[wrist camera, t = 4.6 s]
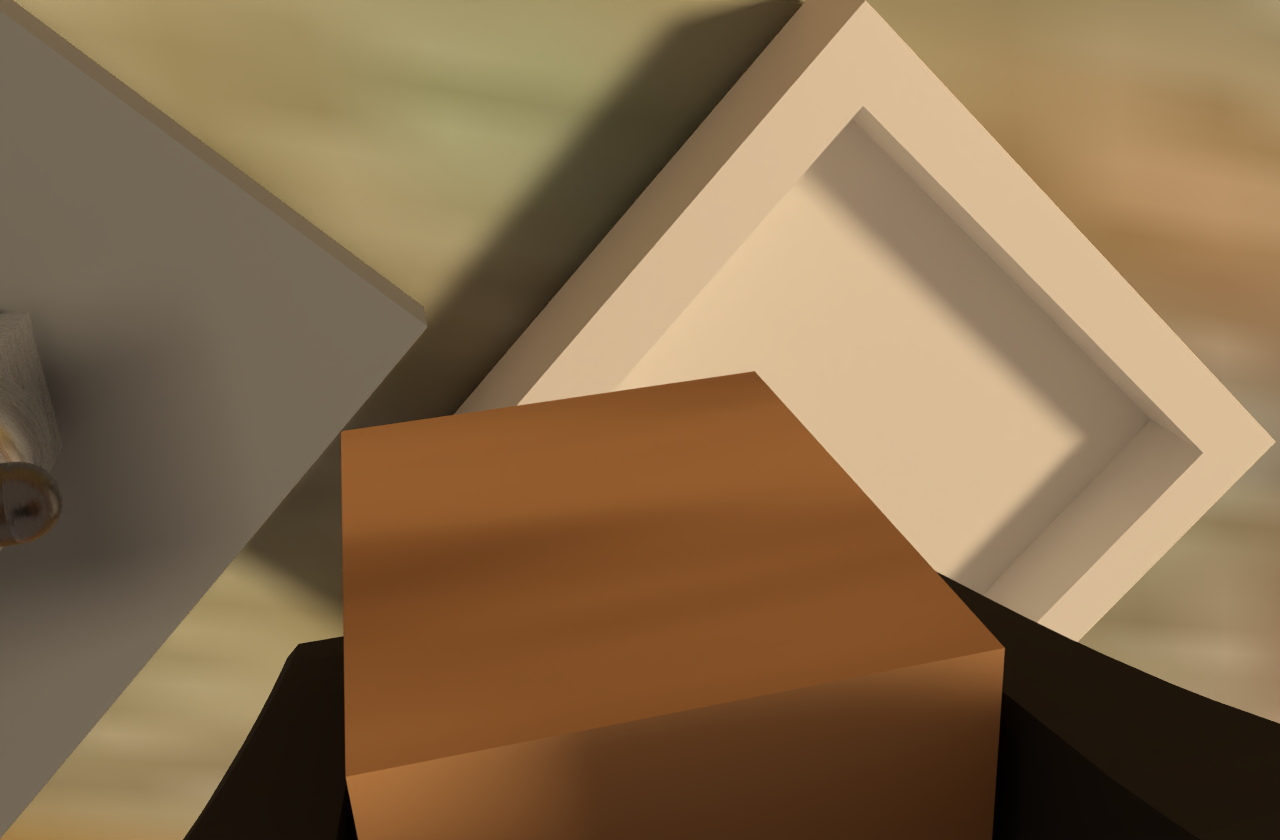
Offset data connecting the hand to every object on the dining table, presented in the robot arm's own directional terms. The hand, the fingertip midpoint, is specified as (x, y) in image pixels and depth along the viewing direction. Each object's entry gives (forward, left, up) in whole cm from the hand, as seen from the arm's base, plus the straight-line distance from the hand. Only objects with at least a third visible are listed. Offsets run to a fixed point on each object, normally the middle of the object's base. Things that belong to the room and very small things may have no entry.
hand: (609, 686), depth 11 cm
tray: (+2, -6, -9) cm, 11 cm away
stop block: (0, 0, -2) cm, 2 cm away
